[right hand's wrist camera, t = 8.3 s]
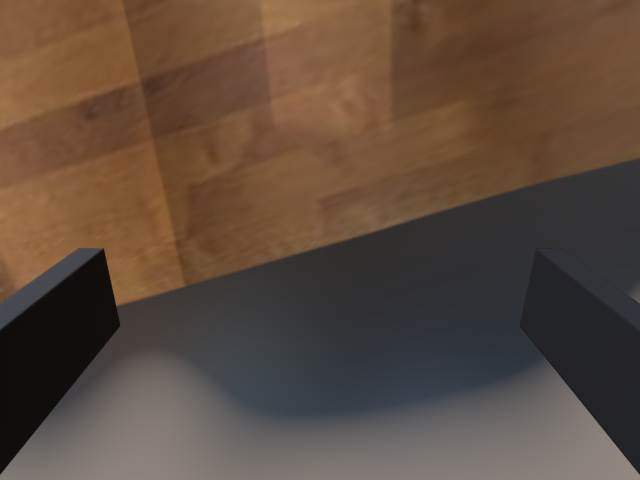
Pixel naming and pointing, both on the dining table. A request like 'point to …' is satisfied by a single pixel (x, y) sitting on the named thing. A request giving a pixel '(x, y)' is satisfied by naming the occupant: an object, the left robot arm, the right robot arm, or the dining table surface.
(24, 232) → the dining table surface
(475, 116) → the dining table surface
